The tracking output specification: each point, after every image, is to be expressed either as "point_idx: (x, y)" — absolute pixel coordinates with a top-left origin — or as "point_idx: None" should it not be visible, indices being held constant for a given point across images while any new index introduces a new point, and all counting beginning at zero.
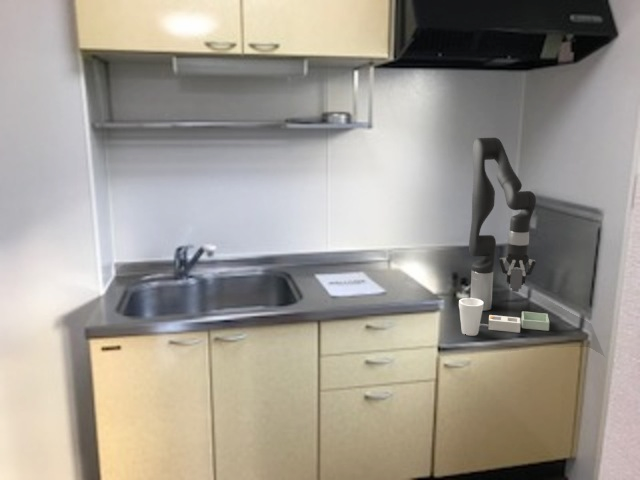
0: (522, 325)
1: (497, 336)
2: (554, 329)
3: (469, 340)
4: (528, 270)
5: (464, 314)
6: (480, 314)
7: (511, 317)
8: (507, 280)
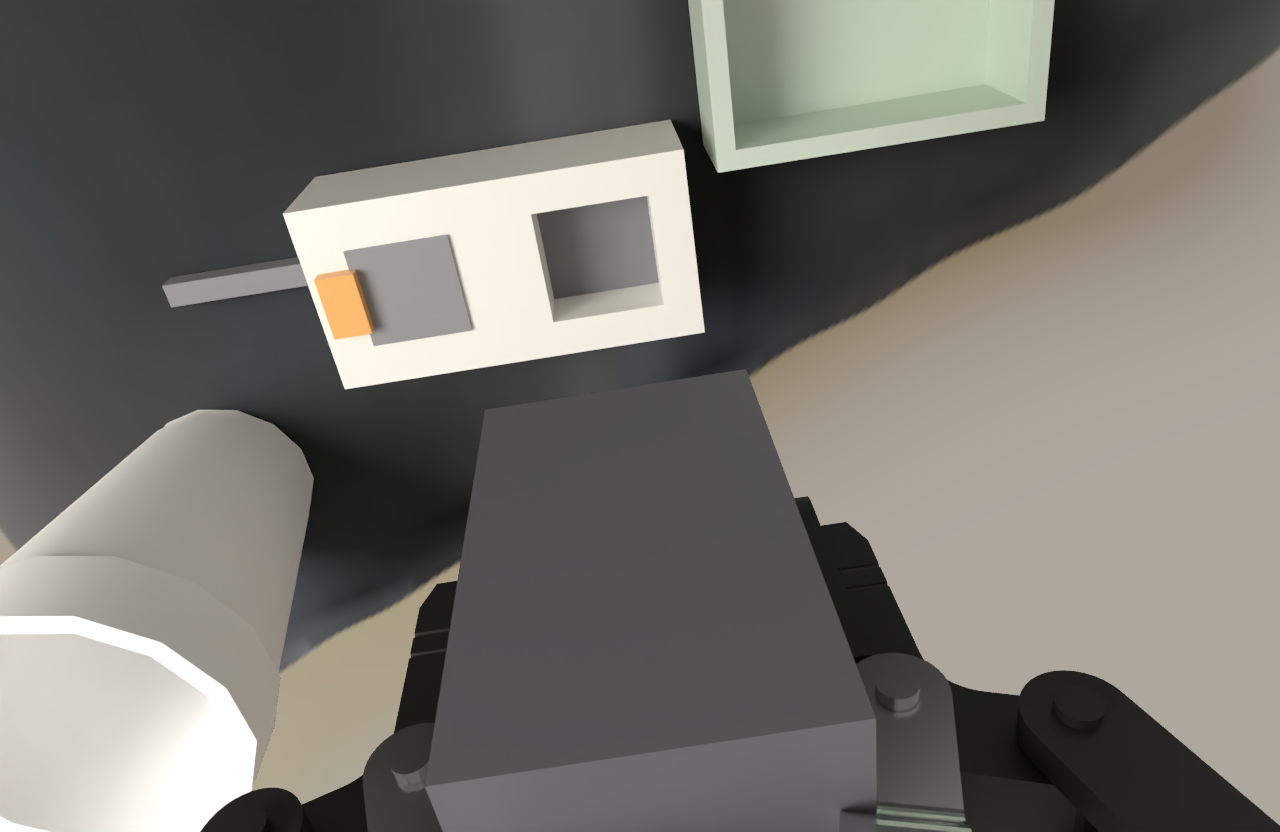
0: (709, 151)
1: None
2: (1070, 20)
3: (303, 620)
4: (1085, 793)
5: (120, 724)
6: (279, 660)
7: (575, 184)
8: None
